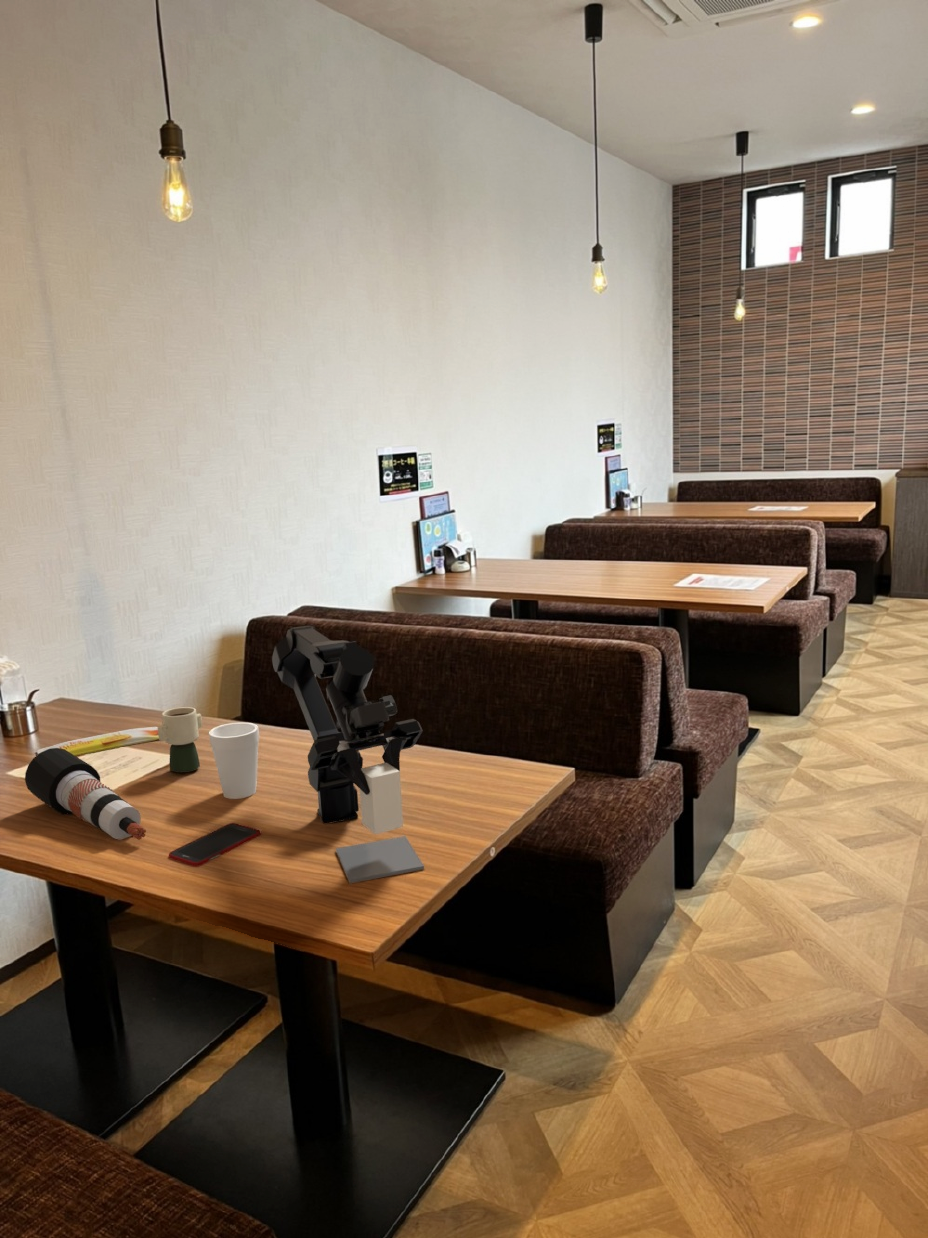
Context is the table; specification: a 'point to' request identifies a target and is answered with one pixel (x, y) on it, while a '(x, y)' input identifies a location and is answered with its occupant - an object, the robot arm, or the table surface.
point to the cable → (81, 793)
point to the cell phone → (214, 844)
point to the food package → (107, 741)
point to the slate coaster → (378, 859)
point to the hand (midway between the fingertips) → (383, 789)
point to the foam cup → (236, 758)
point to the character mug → (181, 737)
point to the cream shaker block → (382, 799)
